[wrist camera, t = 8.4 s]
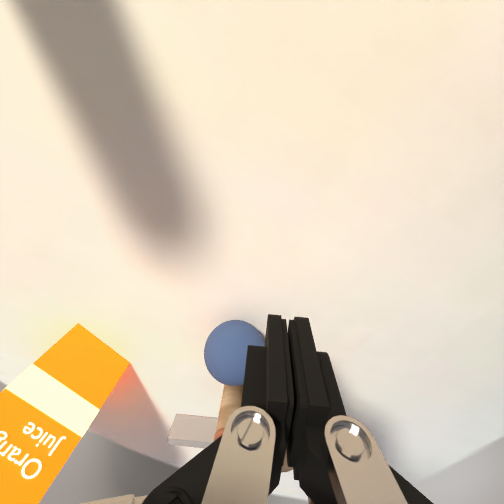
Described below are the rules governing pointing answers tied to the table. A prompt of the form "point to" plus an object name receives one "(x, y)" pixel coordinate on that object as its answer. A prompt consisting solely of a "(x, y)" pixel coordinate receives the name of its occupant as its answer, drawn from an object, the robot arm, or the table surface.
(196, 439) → the rail
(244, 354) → the ball
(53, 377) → the orange juice
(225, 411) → the pin
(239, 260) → the table surface
